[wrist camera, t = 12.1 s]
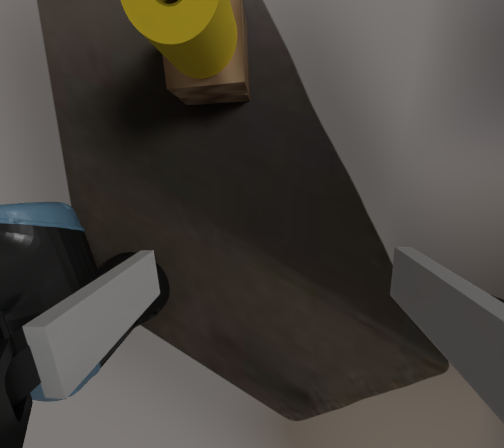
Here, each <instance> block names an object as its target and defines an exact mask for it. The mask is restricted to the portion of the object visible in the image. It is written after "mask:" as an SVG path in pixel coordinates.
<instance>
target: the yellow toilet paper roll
mask: <svg viewBox="0 0 504 448" xmlns="http://www.w3.org/2000/svg"><path fill="white" fill-rule="evenodd" d="M121 3H122V6H123V8H124V10H125V13H126V14H127V16H128V18H129V20H130V21H131V22H132V24H133V25H134V26H135V27H136V28H137V29H138V30H139V31H140V32H141V33H142V34H143V35H144V36H145V37H146V38H147V39H148V40H149V41H150V42H151V43H152V44H153V45H154V46H155V47H156V48H157V49H158V50H159V51H160V52H161V53H162V54H163V55H164V56H165V57H166V58H167V59H168V60H169V61H170V62H171V63H172V64H173V65H174V66H175V67H176V68H177V69H178V70H179V71H180V72H182V73H183V74H185V75H187V76H189V77H192V78H199V79H203V78H209V77H212V76H214V75H216V74H218V73H219V72H221V71H222V70H223V69H224V68H225V67H226V66H227V65H228V63H229V62H230V60H231V58H232V56H233V54H234V51H235V48H236V43H237V26H236V22H235V18H234V14H233V11H232V7H231V3H230V0H121Z"/></svg>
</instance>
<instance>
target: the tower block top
mask: <svg viewBox="0 0 504 448" xmlns="http://www.w3.org/2000/svg"><path fill="white" fill-rule="evenodd" d="M230 3H231V7H232V11H233V14H234V18H235V22H236V26H237V43H236V48H235V51H234V54H233V56H232V58H231V60H230V62H229V63H228V65H227V66H226V67H225V68H224V69H223V70H222V71H221V72H219V73H218V74H216V75H214V76H212V77H209V78H203V79H199V78H192V77H189V76H187V75H185V74H183V73H182V72H180V71H179V70H178V69H177V68H176V67H175V66H174V65H173V64H172V63H171V62H170V61H169V60H168V59H167V58H166V57H165V56H164V55H163V54H162V55H163V63H164V71H165V79H166V87H167V90H168V91H170V92H171V93H173V94H174V95H176V96H177V97H178V98H187V97H198V96H209V95H220V94H231V93H242V92H248V78H247V60H246V41H245V23H244V6H243V1H242V0H230Z"/></svg>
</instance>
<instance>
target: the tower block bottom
mask: <svg viewBox="0 0 504 448" xmlns="http://www.w3.org/2000/svg"><path fill="white" fill-rule="evenodd" d="M244 23H245V41H246V60H247V78H248V92H242V93H231V94H220V95H209V96H198V97H187V98H178V99H179V100H180V101H182V102H183V103H185V104H186V105H198V104H213V103H228V102H242V101H250V90H249V63H248V36H247V22H246V17H245V12H244Z"/></svg>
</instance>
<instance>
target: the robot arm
mask: <svg viewBox="0 0 504 448" xmlns="http://www.w3.org/2000/svg"><path fill="white" fill-rule="evenodd" d="M84 232H85V229H84V228H82V226H81V224H80V222H79V219H78V217H77V215H76V213H75V211H74V209H73V208H72V207H71V206H69V205H67V204H64V203H60V202H39V203H38V202H36V203H19V204H6V205H0V448H22V447H23V443H24V439H25V434H26V430H27V425H28V421H29V416H30V412H31V407H32V400H38V401H59V400H63V399H67V398H68V397H70V396H72V395H74V394H75V393H76V392H78V391H79V390H80V389H81V388H82V387H83V386H84V385H85V384H86V383H87V382H88V381H89V380H90V379H91V378H92V377H93V376H94V375H96V374H97V373H98V371H99V370H100V368H101V367H102V366H103V365H104V363H105V362H106V361H107V360H108V359H109V357H110V356H111V355H112V354H113V353H114V351H115V350H116V349H117V348H118V347H119V346H120V344H121V343H122V342H123V341H124V340H125V338H126V337H127V336H128V335H129V334H130V332H131V331H132V330H133V329H134V328H135V327H137V326H139V325H140V324H142V323H144V322H146V321H148V320H149V319H151V318H153V317H154V316H155V315H157V314H158V313H159V312H160V310H161V309H162V308H163V307H164V305H165V304H166V302H167V300H168V297H169V283H168V279H167V277H166V275H165V273H164V271H163V270H162V268H161V267H160V266H159V265H158V264H157V263H156V262H155V257H154V250H144V251H139V252H138V253H133V252H127V253H121V254H118V255H116V256H114V257H112V258H111V259H109V260H107V261H106V262H105V263H104V264H103V265H102V266H101V267H100V268H99V270H98V269H97V266H96V264H95V261H94V258H93V255H92V252H91V250H90V247H89V244H88V241H87V238H86V236H85V233H84ZM390 295H391V297H392V298H393V299H394V300H395V301H396V302H397V303H398V304H399V306H400V307H401V308H402V309H403V310H404V311H405V312H406V313H407V315H408V316H409V317H410V318H411V319H412V320H413V321H414V323H415V324H416V325H417V326H418V327H419V328H420V329H421V330H422V332H423V333H424V334H425V335H426V336H427V337H428V338H429V339H430V341H431V342H432V343H433V344H434V345H435V346H436V347H437V348H438V350H439V351H440V352H441V353H442V354H443V355H444V356H445V357H446V359H447V360H448V361H449V362H450V363H451V364H452V365H453V366H454V368H455V369H456V370H457V371H458V372H459V373H460V374H461V375H462V377H463V378H464V379H465V380H466V381H467V382H468V383H469V385H470V386H471V387H472V388H473V389H474V390H475V391H476V392H477V394H478V395H479V396H480V397H481V398H482V399H483V400H484V402H485V403H486V404H487V405H488V406H489V407H490V408H491V409H492V410H493V412H494V413H495V414H496V415H497V416H498V417H499V418H500V420H501V421H502V422H503V423H504V300H502V299H500V298H497V297H495V296H492V295H490V294H488V293H486V292H485V291H483V290H481V289H480V288H478V287H476V286H475V285H473V284H471V283H470V282H468V281H466V280H465V279H463V278H461V277H460V276H458V275H456V274H455V273H453V272H451V271H450V270H448V269H447V268H445V267H443V266H442V265H440V264H438V263H437V262H435V261H433V260H432V259H430V258H428V257H426V256H425V255H423V254H422V253H420V252H418V251H417V250H415V249H413V248H412V247H395V252H394V261H393V271H392V281H391V291H390Z"/></svg>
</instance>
